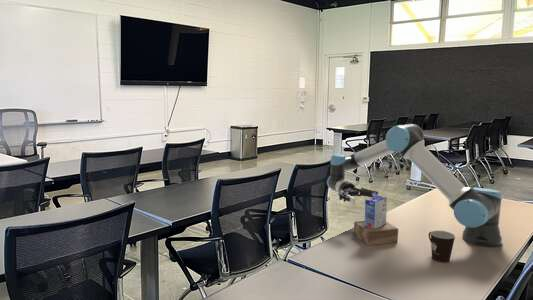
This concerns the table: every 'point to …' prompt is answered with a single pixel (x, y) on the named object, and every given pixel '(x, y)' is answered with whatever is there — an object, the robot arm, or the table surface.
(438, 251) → the coffee mug
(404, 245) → the table surface
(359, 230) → the walnut plinth
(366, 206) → the ink cartridge box
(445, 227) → the table surface
